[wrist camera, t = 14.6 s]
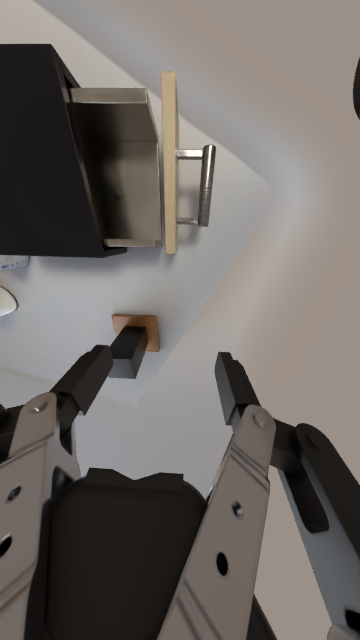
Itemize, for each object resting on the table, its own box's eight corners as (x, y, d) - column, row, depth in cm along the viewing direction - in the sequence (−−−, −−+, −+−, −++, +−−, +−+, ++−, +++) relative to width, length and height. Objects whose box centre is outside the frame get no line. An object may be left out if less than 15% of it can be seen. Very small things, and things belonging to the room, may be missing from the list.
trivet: (157, 315, 31) (156, 317, 30) (159, 349, 36) (158, 351, 35) (113, 313, 32) (111, 316, 31) (121, 347, 37) (120, 350, 36)
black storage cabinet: (107, 125, 18) (50, 43, 10) (126, 252, 25) (102, 257, 18) (-5, 124, 18) (-138, 43, 11) (47, 250, 25) (-11, 254, 18)
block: (146, 326, 32) (131, 359, 23) (148, 343, 34) (135, 378, 26) (124, 325, 32) (101, 358, 23) (127, 342, 34) (108, 377, 26)
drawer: (213, 129, 17) (228, 70, 11) (202, 251, 24) (207, 254, 18) (70, 127, 17) (11, 70, 11) (99, 248, 24) (72, 251, 18)
